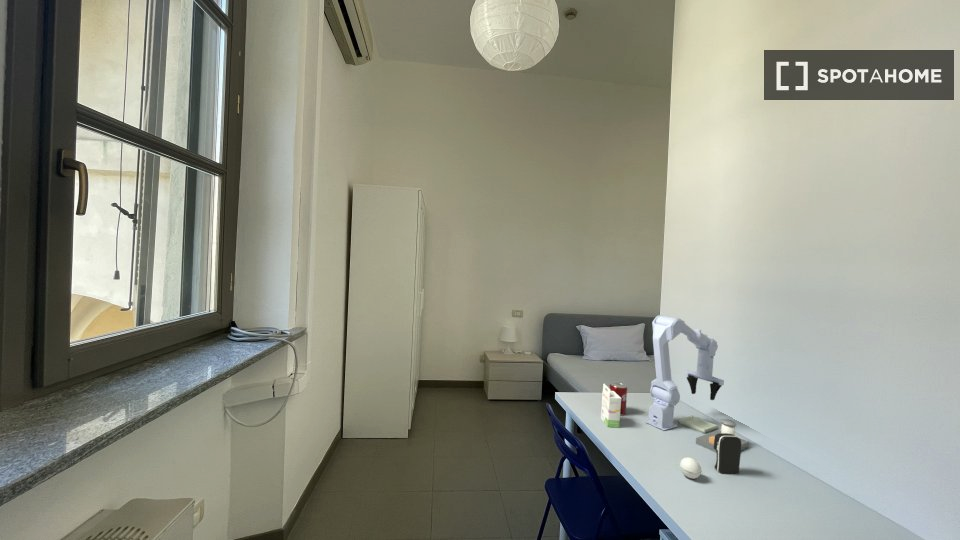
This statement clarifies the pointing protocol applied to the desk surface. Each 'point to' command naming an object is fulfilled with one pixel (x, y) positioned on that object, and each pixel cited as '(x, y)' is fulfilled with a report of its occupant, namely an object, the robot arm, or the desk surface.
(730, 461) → the battery charger
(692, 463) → the white egg
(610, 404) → the ink box
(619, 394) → the soda can
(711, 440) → the button
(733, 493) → the desk surface
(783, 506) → the desk surface
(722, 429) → the grey cylinder
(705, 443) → the housing
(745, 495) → the desk surface
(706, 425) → the tray
